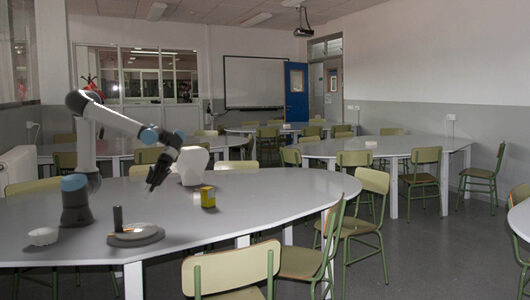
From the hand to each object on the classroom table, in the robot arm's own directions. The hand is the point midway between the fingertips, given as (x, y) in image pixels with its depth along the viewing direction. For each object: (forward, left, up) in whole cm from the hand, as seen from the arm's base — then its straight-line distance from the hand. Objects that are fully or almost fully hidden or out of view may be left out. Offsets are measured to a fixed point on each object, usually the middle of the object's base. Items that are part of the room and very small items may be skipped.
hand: (145, 197), depth 182 cm
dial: (+1, -15, -13) cm, 19 cm away
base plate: (+1, -15, -14) cm, 20 cm away
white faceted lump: (-5, +96, -14) cm, 98 cm away
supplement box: (+21, +33, -14) cm, 42 cm away
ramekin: (-36, -23, -14) cm, 45 cm away
